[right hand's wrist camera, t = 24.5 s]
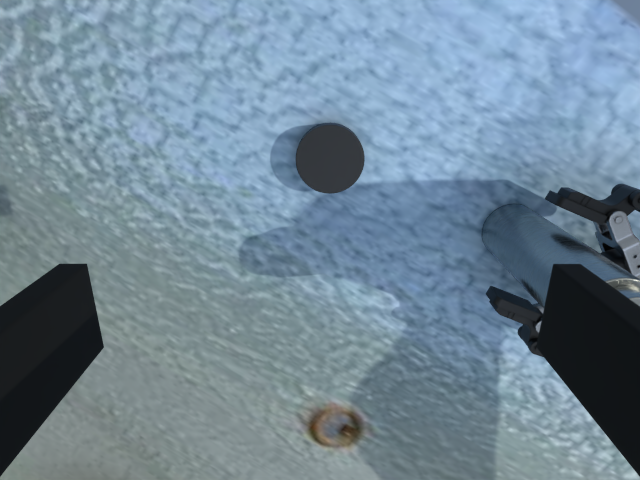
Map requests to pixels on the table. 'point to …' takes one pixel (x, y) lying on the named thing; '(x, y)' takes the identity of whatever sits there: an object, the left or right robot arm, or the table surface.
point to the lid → (329, 158)
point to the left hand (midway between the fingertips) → (520, 248)
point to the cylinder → (546, 252)
